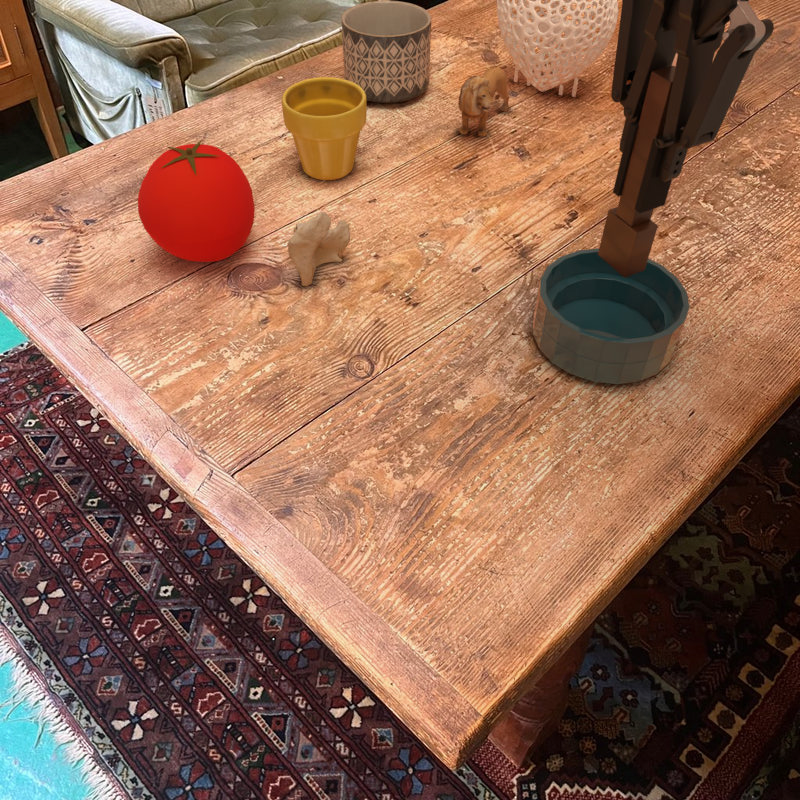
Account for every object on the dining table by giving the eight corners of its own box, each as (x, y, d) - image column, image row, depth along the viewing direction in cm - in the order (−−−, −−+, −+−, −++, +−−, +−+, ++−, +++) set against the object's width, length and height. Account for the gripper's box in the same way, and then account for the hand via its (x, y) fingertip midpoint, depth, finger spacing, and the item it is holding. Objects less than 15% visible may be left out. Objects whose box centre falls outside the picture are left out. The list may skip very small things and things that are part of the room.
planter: (446, 91, 116) (450, 19, 108) (383, 118, 110) (382, 44, 102) (390, 63, 122) (389, -7, 114) (327, 88, 116) (323, 16, 109)
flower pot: (369, 188, 98) (367, 115, 91) (287, 190, 97) (279, 116, 90) (367, 146, 105) (365, 75, 98) (290, 148, 104) (283, 76, 97)
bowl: (702, 358, 77) (721, 312, 73) (588, 407, 73) (601, 361, 68) (612, 279, 86) (623, 234, 81) (505, 318, 81) (511, 273, 77)
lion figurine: (487, 152, 104) (493, 87, 97) (449, 145, 105) (453, 80, 99) (512, 103, 113) (520, 41, 107) (478, 97, 115) (483, 35, 108)
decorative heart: (613, 93, 116) (640, -31, 103) (580, 121, 110) (604, -7, 97) (510, 61, 123) (524, -58, 110) (474, 86, 117) (484, -38, 104)
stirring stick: (644, 270, 71) (702, 80, 58) (624, 278, 71) (678, 87, 57) (617, 247, 74) (666, 60, 61) (597, 254, 73) (642, 66, 60)
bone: (318, 219, 90) (340, 173, 81) (352, 262, 90) (379, 220, 81) (261, 255, 87) (278, 210, 78) (297, 299, 87) (318, 260, 78)
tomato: (248, 213, 94) (232, 115, 85) (271, 269, 86) (257, 168, 77) (145, 233, 91) (117, 134, 82) (160, 293, 83) (131, 191, 74)
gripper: (603, -139, 53) (551, 167, 70) (771, -75, 44) (664, 258, 61) (686, -151, 55) (616, 148, 73) (861, -93, 46) (734, 232, 64)
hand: (638, 198), depth 67 cm, fingers closed on stirring stick, 2 cm apart
